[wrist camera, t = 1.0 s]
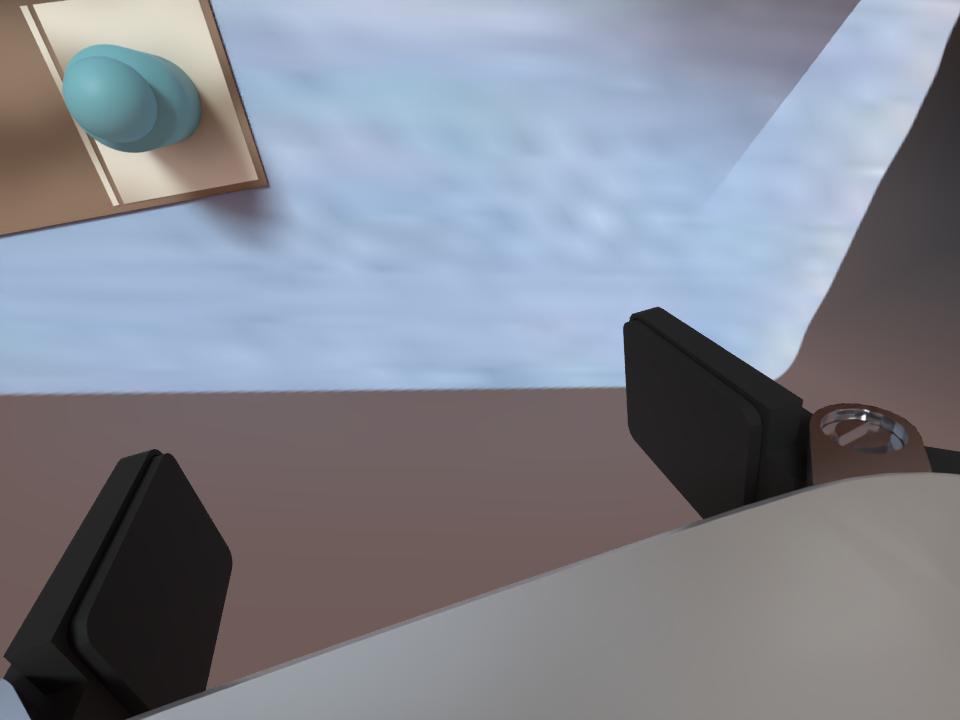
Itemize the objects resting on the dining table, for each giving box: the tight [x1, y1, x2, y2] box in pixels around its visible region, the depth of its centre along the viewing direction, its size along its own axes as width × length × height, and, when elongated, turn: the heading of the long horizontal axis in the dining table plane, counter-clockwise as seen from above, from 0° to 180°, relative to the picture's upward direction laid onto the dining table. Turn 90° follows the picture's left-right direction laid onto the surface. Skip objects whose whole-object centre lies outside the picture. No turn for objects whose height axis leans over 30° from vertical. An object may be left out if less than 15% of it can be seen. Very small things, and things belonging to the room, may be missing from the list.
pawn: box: [62, 44, 202, 153], centre depth 24 cm, size 4×4×8 cm
